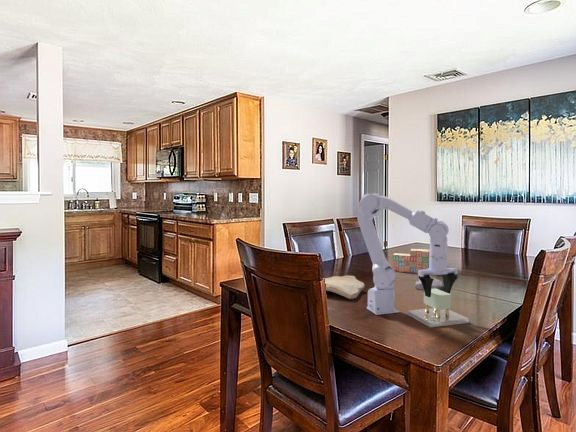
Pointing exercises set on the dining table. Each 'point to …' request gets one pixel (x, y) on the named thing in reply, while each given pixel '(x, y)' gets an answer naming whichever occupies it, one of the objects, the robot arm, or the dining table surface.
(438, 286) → the stone block
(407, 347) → the dining table surface
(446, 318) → the base plate
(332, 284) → the cream rock
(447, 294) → the block
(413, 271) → the stack of blocks
